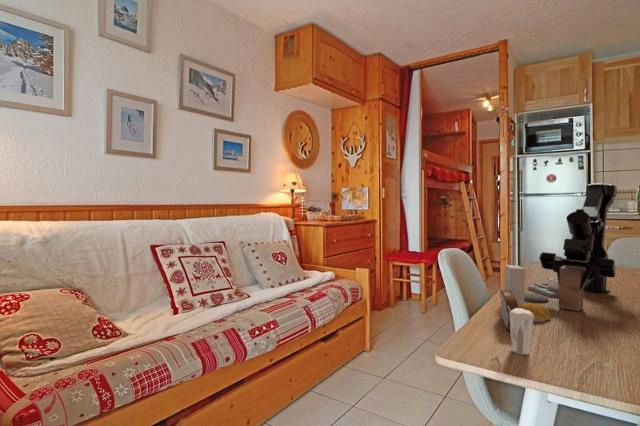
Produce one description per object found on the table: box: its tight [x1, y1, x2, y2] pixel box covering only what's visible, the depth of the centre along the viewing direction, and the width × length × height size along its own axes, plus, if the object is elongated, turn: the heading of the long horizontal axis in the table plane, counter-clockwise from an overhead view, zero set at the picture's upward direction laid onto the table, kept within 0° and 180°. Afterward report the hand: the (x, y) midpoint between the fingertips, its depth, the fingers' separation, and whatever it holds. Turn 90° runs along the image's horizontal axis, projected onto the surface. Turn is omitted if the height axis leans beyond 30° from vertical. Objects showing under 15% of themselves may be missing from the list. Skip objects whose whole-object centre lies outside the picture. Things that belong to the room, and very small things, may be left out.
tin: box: [499, 289, 518, 331], centre depth 95 cm, size 15×3×8 cm, turn 160°
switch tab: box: [547, 277, 559, 290], centre depth 127 cm, size 4×4×4 cm
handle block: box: [558, 265, 584, 312], centre depth 109 cm, size 5×5×12 cm
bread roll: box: [518, 302, 552, 323], centre depth 101 cm, size 8×9×4 cm
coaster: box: [524, 293, 549, 304], centre depth 120 cm, size 9×9×1 cm
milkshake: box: [508, 306, 534, 356], centre depth 78 cm, size 4×5×10 cm
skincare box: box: [503, 264, 526, 306], centre depth 112 cm, size 6×4×12 cm
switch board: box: [527, 282, 559, 298], centre depth 129 cm, size 12×11×2 cm
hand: (570, 286), depth 109 cm, fingers closed on handle block, 5 cm apart
